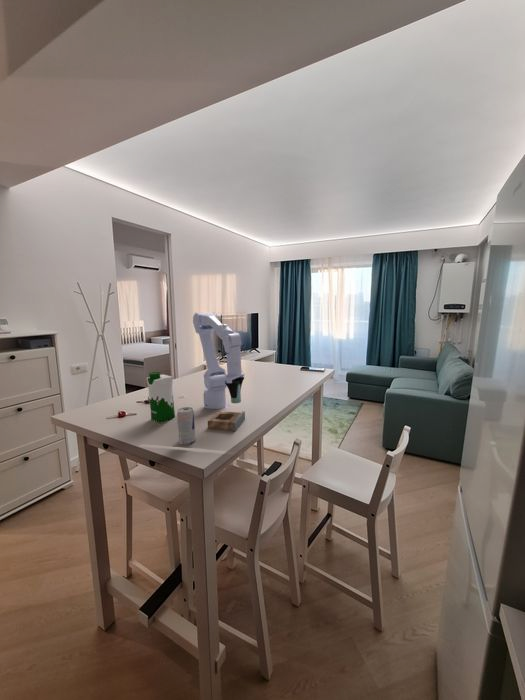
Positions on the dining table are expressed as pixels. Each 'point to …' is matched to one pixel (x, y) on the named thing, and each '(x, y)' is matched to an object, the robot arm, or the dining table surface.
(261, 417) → the dining table surface
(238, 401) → the dowel
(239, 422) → the board
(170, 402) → the milk carton
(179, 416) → the energy drink
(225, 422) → the socket block
